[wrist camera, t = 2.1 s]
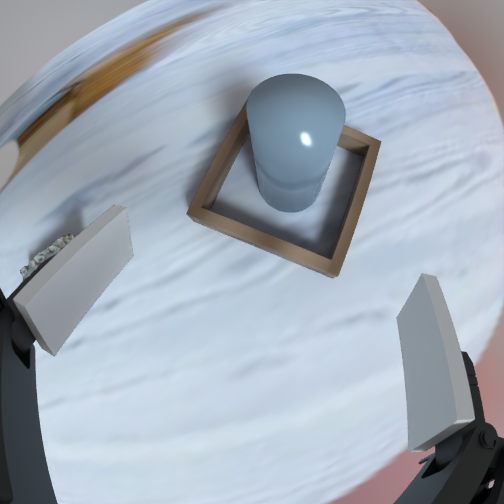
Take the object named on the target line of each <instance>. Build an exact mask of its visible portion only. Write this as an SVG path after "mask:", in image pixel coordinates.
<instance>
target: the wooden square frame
mask: <svg viewBox="0 0 504 504" xmlns="http://www.w3.org/2000/svg"><path fill="white" fill-rule="evenodd" d="M247 101H248V99H247ZM247 101H246V103H245V104H244V106H243V108H242V110H241V111H240V113H239V115H238V116H237V118H236V120H235V122H234V123H233V125H232V127H231V129H230V131H229V132H228V134H227V136H226V138H225V140H224V141H223V143H222V145H221V147H220V149H219V151H218V153H217V154H216V156H215V158H214V160H213V162H212V164H211V166H210V168H209V170H208V171H207V173H206V175H205V177H204V179H203V181H202V183H201V185H200V187H199V189H198V191H197V193H196V195H195V197H194V199H193V201H192V203H191V205H190V207H189V209H188V212H187V215H188V216H189V217H190V218H191V219H192V220H193V221H194V222H197V223H199V224H202V225H204V226H207V227H209V228H211V229H214V230H216V231H219V232H221V233H224V234H226V235H229V236H231V237H233V238H236V239H238V240H241V241H243V242H246V243H248V244H251V245H253V246H255V247H258V248H260V249H263V250H265V251H268V252H270V253H272V254H275V255H277V256H280V257H282V258H285V259H287V260H289V261H292V262H294V263H297V264H299V265H301V266H304V267H306V268H309V269H311V270H314V271H316V272H318V273H321V274H323V275H326V276H328V277H330V278H335V277H337V276H338V275H339V273H340V270H341V267H342V265H343V262H344V259H345V257H346V254H347V251H348V248H349V245H350V243H351V240H352V237H353V234H354V231H355V228H356V225H357V222H358V219H359V216H360V213H361V210H362V207H363V203H364V200H365V197H366V194H367V191H368V187H369V184H370V180H371V177H372V174H373V170H374V166H375V163H376V159H377V156H378V152H379V148H380V144H381V141H379V140H377V139H375V138H373V137H370V136H368V135H366V134H363V133H361V132H359V131H356V130H354V129H351V128H349V127H346V126H343V129H342V132H341V134H340V137H339V140H338V143H337V146H339V147H342V148H344V149H347V150H349V151H351V152H354V153H356V154H359V155H361V156H363V160H362V163H361V166H360V169H359V173H358V176H357V179H356V182H355V185H354V188H353V191H352V194H351V197H350V200H349V203H348V206H347V209H346V212H345V215H344V218H343V221H342V223H341V226H340V229H339V232H338V235H337V237H336V240H335V243H334V246H333V248H332V251H331V254H330V256H329V259H328V258H325V257H323V256H321V255H318V254H316V253H313V252H311V251H308V250H306V249H304V248H301V247H299V246H296V245H294V244H291V243H289V242H287V241H284V240H282V239H279V238H277V237H274V236H272V235H269V234H267V233H264V232H262V231H259V230H257V229H254V228H252V227H249V226H247V225H244V224H242V223H239V222H237V221H234V220H232V219H229V218H227V217H224V216H222V215H219V214H216V213H214V212H211V211H210V209H211V207H212V205H213V203H214V201H215V199H216V197H217V195H218V192H219V190H220V188H221V186H222V184H223V182H224V180H225V178H226V176H227V174H228V172H229V170H230V168H231V166H232V164H233V162H234V160H235V158H236V156H237V155H238V153H239V151H240V149H241V147H242V145H243V143H244V141H245V139H246V137H247V135H248V133H249V132H250V130H249V124H248V118H247V110H246V106H247Z"/></svg>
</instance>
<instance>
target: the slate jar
mask: <svg viewBox="0 0 504 504" xmlns="http://www.w3.org/2000/svg"><path fill="white" fill-rule="evenodd" d="M246 110H247V118H248V124H249V130H250V136H251V142H252V148H253V154H254V160H255V166H256V172H257V179H258V185H259V190H260V193H261V195H262V197H263V199H264V200H265V201H266V202H267V203H268V204H269V205H270V206H271V207H273V208H275V209H277V210H279V211H283V212H298V211H302V210H304V209H306V208H308V207H309V206H310V205H312V204H313V203H314V201H315V200H316V199H317V197H318V195H319V192H320V190H321V187H322V184H323V182H324V179H325V176H326V173H327V171H328V168H329V165H330V163H331V160H332V157H333V154H334V151H335V149H336V146H337V143H338V140H339V137H340V134H341V132H342V129H343V126H344V123H345V117H346V112H345V107H344V104H343V101H342V99H341V98H340V96H339V95H338V94H337V92H336V91H335V90H334V89H333V88H332V87H330V86H329V85H328V84H326V83H325V82H323V81H321V80H319V79H317V78H314V77H311V76H307V75H302V74H282V75H277V76H274V77H271V78H269V79H267V80H265V81H263V82H262V83H260V84H259V85H258V86H257V87H256V88H255V89H254V90H253V91H252V92H251V94H250V96H249V98H248V101H247V106H246Z"/></svg>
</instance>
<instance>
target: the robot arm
mask: <svg viewBox="0 0 504 504" xmlns="http://www.w3.org/2000/svg"><path fill="white" fill-rule="evenodd" d="M132 257H133V250H132V244H131V237H130V230H129V223H128V215H127V208H126V207H121V206H115V205H113V206H112V207H111V208H110V209H108V210H107V211H106V212H105V213H103V214H102V215H101V216H100V217H99V218H97V219H96V220H95V221H94V222H93V223H91V224H90V225H89V226H88V227H87V228H86V229H84V230H83V231H82V232H81V233H80V234H79V235H77V236H76V237H75V238H74V239H73V240H72V241H71V242H70V243H69V244H67V245H66V246H65V247H64V248H63V249H62V250H61V251H60V252H59V253H58V254H57V255H53V256H51V257H50V258H48V259H46V260H44V261H43V262H42V263H41V264H40V265H39V266H38V267H37V269H36V270H34V271H33V272H32V273H31V274H30V276H28V277H27V278H26V279H25V280H24V281H23V282H22V283H21V284H20V285H19V286H18V288H17V289H16V290H15V291H14V292H13V293H12V294H11V295H10V296H9V297H8V298H7V299H6V298H5V296H4V294H3V292H2V290H1V288H0V504H57V500H56V497H55V494H54V490H53V486H52V483H51V479H50V475H49V471H48V466H47V462H46V457H45V452H44V447H43V441H42V435H41V428H40V421H39V412H38V403H37V390H36V370H35V347H34V345H33V343H34V342H35V340H37V342H38V343H39V345H40V346H41V348H42V349H43V350H45V351H47V352H48V353H50V354H51V355H53V356H55V355H56V354H57V352H58V351H59V350H60V348H61V347H62V345H63V344H64V343H65V341H66V340H67V338H68V337H69V336H70V334H71V333H72V332H73V330H74V329H75V328H76V326H77V325H78V324H79V322H80V321H81V320H82V318H83V317H84V316H85V315H86V313H87V312H88V311H89V309H90V308H91V307H92V306H93V304H94V303H95V302H96V301H97V299H98V298H99V297H100V296H101V294H102V293H103V292H104V291H105V289H106V288H107V287H108V286H109V285H110V283H111V282H112V281H113V280H114V279H115V277H116V276H117V275H118V274H119V273H120V271H121V270H122V269H123V268H124V267H125V266H126V264H127V263H128V262H129V261H130V260H131V259H132ZM397 324H398V330H399V337H400V344H401V351H402V359H403V368H404V377H405V388H406V401H407V419H408V452H422V451H427V450H428V449H430V448H432V447H433V446H435V453H433V454H431V455H429V456H427V457H426V458H424V459H422V460H421V461H420V462H419V464H422V463H424V462H426V461H427V462H426V463H425V465H424V466H423V468H422V469H421V470H420V472H419V473H418V474H417V476H416V477H415V478H414V480H413V481H412V482H411V483H410V485H409V486H408V487H407V488H406V490H405V491H404V492H403V493H402V495H401V496H400V497H399V498H398V499H397V500H396V501H395V503H394V504H504V438H501V437H498V435H497V432H496V430H495V428H494V427H493V426H492V425H491V424H489V423H486V422H485V418H484V412H483V407H482V401H481V397H480V391H479V387H478V386H477V385H478V383H477V378H476V377H475V375H476V374H475V370H474V366H473V362H472V361H471V359H470V357H469V356H468V354H467V352H462V351H461V350H460V346H459V342H458V339H457V335H456V332H455V329H454V326H453V322H452V319H451V316H450V313H449V310H448V307H447V304H446V301H445V299H444V296H443V293H442V290H441V288H440V285H439V282H438V280H437V277H435V276H431V275H427V274H423V273H422V274H421V276H420V278H419V280H418V282H417V284H416V285H415V287H414V289H413V291H412V293H411V294H410V296H409V298H408V299H407V301H406V303H405V305H404V306H403V308H402V310H401V311H400V313H399V314H398V316H397ZM493 480H495V481H494V484H493V487H492V488H488V486H489V482H491V481H493Z"/></svg>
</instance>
